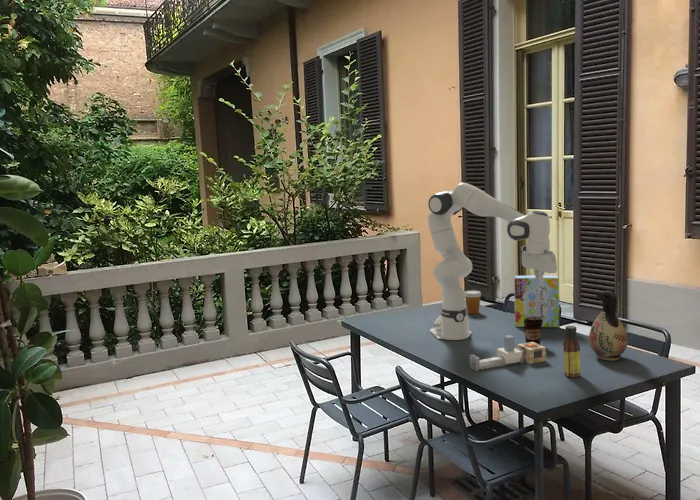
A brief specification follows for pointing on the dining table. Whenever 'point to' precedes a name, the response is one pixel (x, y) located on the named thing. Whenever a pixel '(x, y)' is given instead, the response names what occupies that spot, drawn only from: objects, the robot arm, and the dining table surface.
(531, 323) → the coffee cup
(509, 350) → the carriage
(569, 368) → the sauce bottle
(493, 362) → the rail
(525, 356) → the cabinet
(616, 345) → the ceramic jug
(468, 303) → the disposable coffee cup
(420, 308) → the dining table surface
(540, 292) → the snack box
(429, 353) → the dining table surface
